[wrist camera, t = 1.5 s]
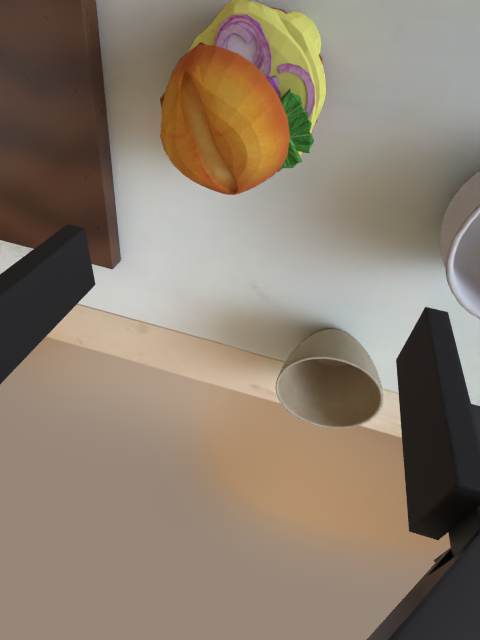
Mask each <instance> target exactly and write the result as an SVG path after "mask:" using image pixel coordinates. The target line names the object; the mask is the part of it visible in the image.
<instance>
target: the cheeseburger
mask: <svg viewBox="0 0 480 640" xmlns="http://www.w3.org/2000/svg"><path fill="white" fill-rule="evenodd" d="M320 50H321V36H320V34H319V32H318V30H317V28H316V26H315V24H314V22H313V21H312V20H311V19H310V18H308V17H307V16H306V15H305V14H304V13H302V12H297V11H291V12H289V13H286V12H285V11H284V10H281V9H275V8H270V7H268V6H265V5H263V4H261V3H257V2H253V1H249V0H234V1H230V2H228V4H227V5H226V6H225V7H224V8H223V10H222V11H221V12H220V13H219V14H218V16H217V17H216V18H215V19H214V20H213V22H212V23H211V24H210V25H209V26H208V27H207V28H206V29H205V30H204V31H203V32H202V33H201V34H199V35H198V36H197V37H196V38H195V40H194V42H193V44H192V46H191V48H190V50H189V51H188V53H187V54H186V55H184V56H183V57H182V58H181V59H180V61H179V63H178V64H177V66H176V67H175V69H174V71H173V72H172V75H171V78H170V80H169V83H168V86H167V89H166V92H165V93H164V94H163V95H162V96H161V98H160V102H161V107H162V122H161V134H160V137H161V140H162V144H163V147H164V151H165V152H166V154H167V155H168V157H169V159H170V160H171V162H172V164H173V165H174V166H175V167H176V168H177V169H178V170H179V171H180V172H181V173H182V174H184V175H185V176H186V177H188V178H189V179H191V180H192V181H194V182H196V183H198V184H200V185H202V186H204V187H206V188H209V189H211V190H214V191H217V192H220V193H223V194H231V195H235V194H239V193H242V192H244V191H247V190H249V189H251V188H253V187H255V186H257V185H259V184H261V183H262V182H264V181H266V180H267V179H269V178H270V177H272V176H273V175H274V174H275V173H276V172H279V171H280V170H281V169H283V168H293V167H294V166H295V165H296V164H297V163H300V162H302V160H301V158H300V156H301V155H302V152H305V153H311V152H310V148H311V146H312V143H313V141H314V140H313V137H312V135H311V132H312V130H313V127H314V125H315V123H316V122H317V119H318V116H319V114H320V112H321V110H322V106H323V103H324V99H325V96H326V80H325V74H324V70H323V65H322V57H321V56H320V54H319V53H320Z"/></svg>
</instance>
